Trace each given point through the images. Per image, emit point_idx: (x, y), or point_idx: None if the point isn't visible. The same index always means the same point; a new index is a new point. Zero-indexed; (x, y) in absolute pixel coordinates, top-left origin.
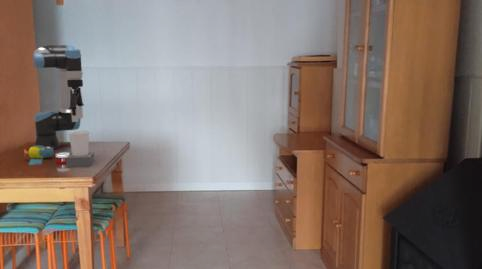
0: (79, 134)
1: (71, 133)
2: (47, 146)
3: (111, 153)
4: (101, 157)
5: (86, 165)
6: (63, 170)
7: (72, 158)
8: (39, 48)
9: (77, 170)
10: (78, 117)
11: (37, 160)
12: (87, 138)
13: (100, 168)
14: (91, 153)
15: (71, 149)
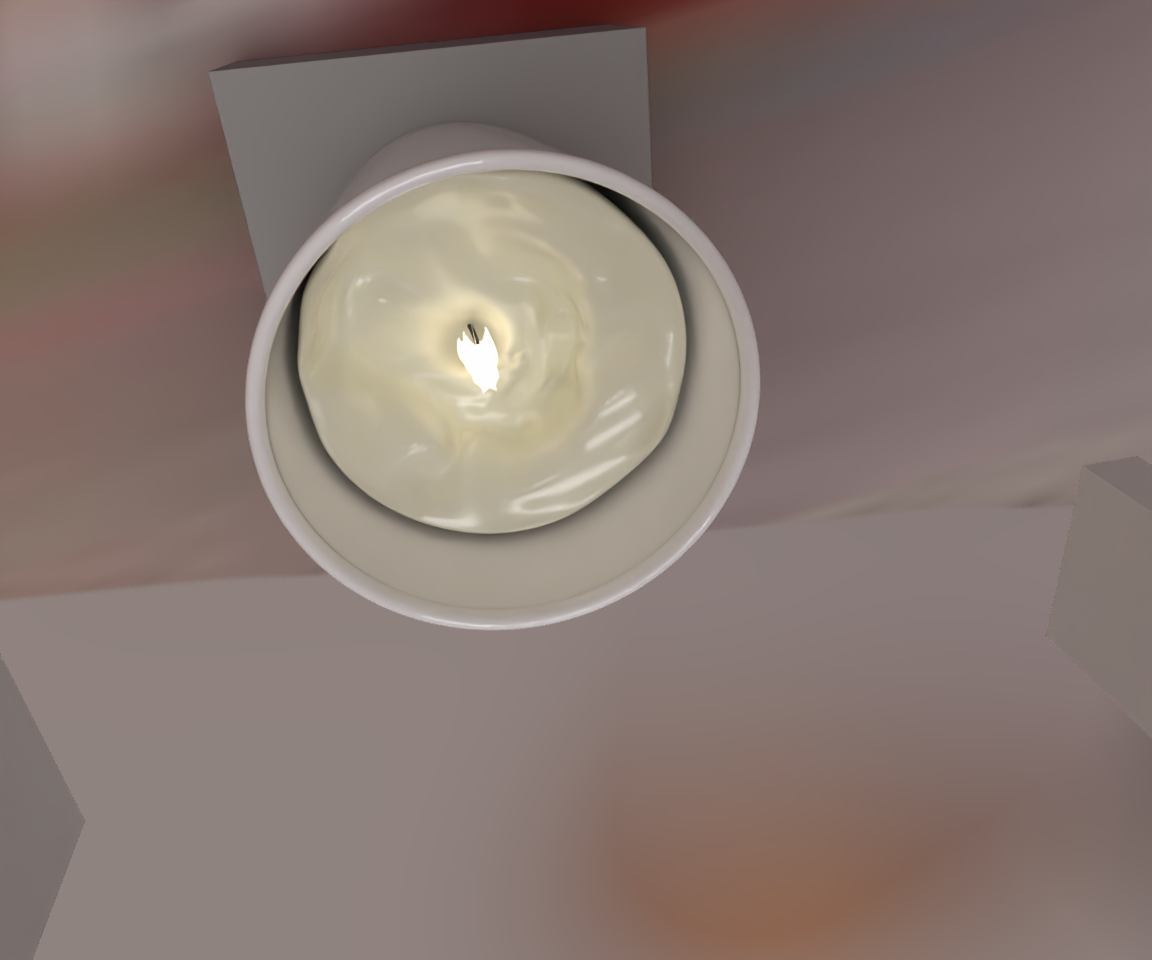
0: (278, 515)
1: (599, 181)
2: None
3: (1055, 433)
4: (847, 381)
5: None
6: (11, 80)
7: (242, 192)
8: None
9: (46, 309)
10: (1099, 520)
11: None
12: (468, 547)
13: (198, 562)
14: None
15: (373, 159)
